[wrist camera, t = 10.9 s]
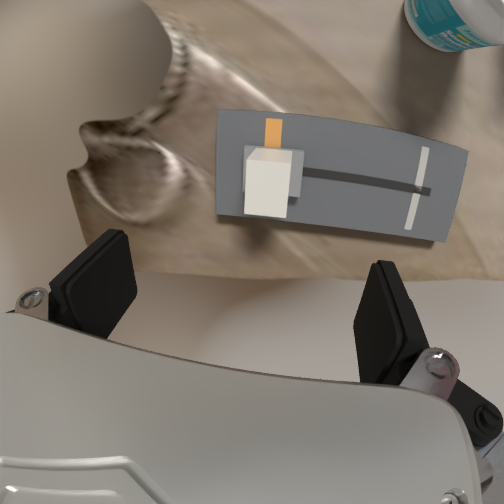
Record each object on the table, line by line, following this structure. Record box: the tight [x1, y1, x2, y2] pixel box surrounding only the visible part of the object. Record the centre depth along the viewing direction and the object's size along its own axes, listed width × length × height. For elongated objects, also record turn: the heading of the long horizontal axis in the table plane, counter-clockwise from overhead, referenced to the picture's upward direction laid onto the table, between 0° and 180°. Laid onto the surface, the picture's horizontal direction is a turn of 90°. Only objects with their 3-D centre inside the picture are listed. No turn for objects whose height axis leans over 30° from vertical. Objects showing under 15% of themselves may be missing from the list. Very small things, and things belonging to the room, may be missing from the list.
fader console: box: [216, 110, 468, 243], centre depth 26 cm, size 24×10×2 cm, turn 88°
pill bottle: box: [404, 0, 504, 52], centre depth 11 cm, size 8×7×14 cm
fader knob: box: [242, 145, 304, 218], centre depth 23 cm, size 5×4×6 cm
